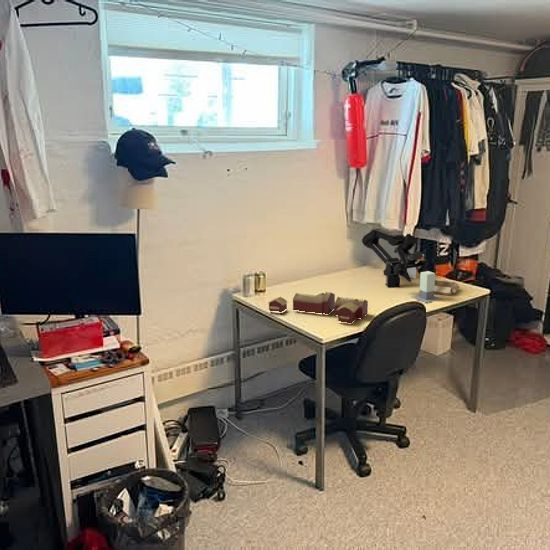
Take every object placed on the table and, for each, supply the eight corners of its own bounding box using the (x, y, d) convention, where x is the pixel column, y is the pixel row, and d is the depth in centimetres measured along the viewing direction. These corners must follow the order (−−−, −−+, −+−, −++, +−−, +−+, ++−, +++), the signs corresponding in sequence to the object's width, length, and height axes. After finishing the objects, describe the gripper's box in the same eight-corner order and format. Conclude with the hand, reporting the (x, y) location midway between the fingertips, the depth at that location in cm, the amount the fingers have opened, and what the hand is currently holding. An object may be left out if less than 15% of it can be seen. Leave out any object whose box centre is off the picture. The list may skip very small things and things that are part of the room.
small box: (416, 279, 307) (416, 256, 304) (406, 277, 312) (407, 255, 308) (423, 276, 313) (424, 254, 309) (414, 274, 317) (414, 252, 314)
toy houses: (369, 313, 254) (369, 292, 251) (355, 327, 236) (356, 305, 234) (282, 302, 273) (282, 283, 271) (264, 315, 255) (263, 294, 253)
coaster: (410, 297, 274) (410, 296, 274) (427, 294, 278) (427, 293, 278) (425, 303, 264) (425, 302, 264) (442, 300, 268) (442, 299, 268)
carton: (424, 294, 279) (424, 285, 278) (432, 286, 291) (432, 278, 290) (453, 297, 272) (453, 289, 271) (460, 290, 284) (460, 281, 283)
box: (419, 297, 272) (420, 272, 269) (427, 295, 274) (428, 271, 271) (426, 299, 268) (427, 274, 264) (433, 298, 270) (435, 273, 266)
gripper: (397, 248, 272) (410, 274, 265) (426, 244, 279) (440, 269, 273) (387, 260, 281) (400, 286, 274) (416, 256, 288) (429, 280, 282)
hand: (417, 280), depth 275 cm, fingers open, 9 cm apart
